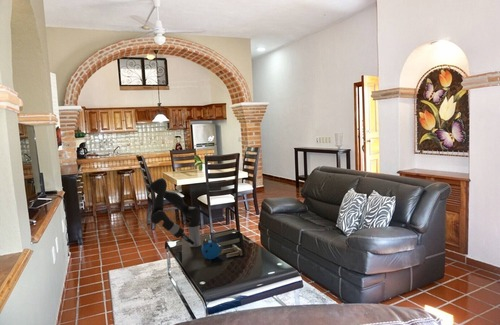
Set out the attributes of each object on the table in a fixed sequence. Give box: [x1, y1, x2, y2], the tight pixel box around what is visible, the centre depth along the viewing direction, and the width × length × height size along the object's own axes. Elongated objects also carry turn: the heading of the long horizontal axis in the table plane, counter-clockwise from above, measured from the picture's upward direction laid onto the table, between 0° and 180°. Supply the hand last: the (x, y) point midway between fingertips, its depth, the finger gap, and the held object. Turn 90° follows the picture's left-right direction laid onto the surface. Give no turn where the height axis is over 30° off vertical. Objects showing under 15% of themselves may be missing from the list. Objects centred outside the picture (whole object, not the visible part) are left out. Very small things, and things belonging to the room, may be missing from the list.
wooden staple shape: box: [220, 244, 243, 259], centre depth 278 cm, size 16×12×4 cm
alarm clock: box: [201, 237, 221, 260], centre depth 271 cm, size 13×6×15 cm, turn 108°
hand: (193, 243), depth 265 cm, fingers closed
